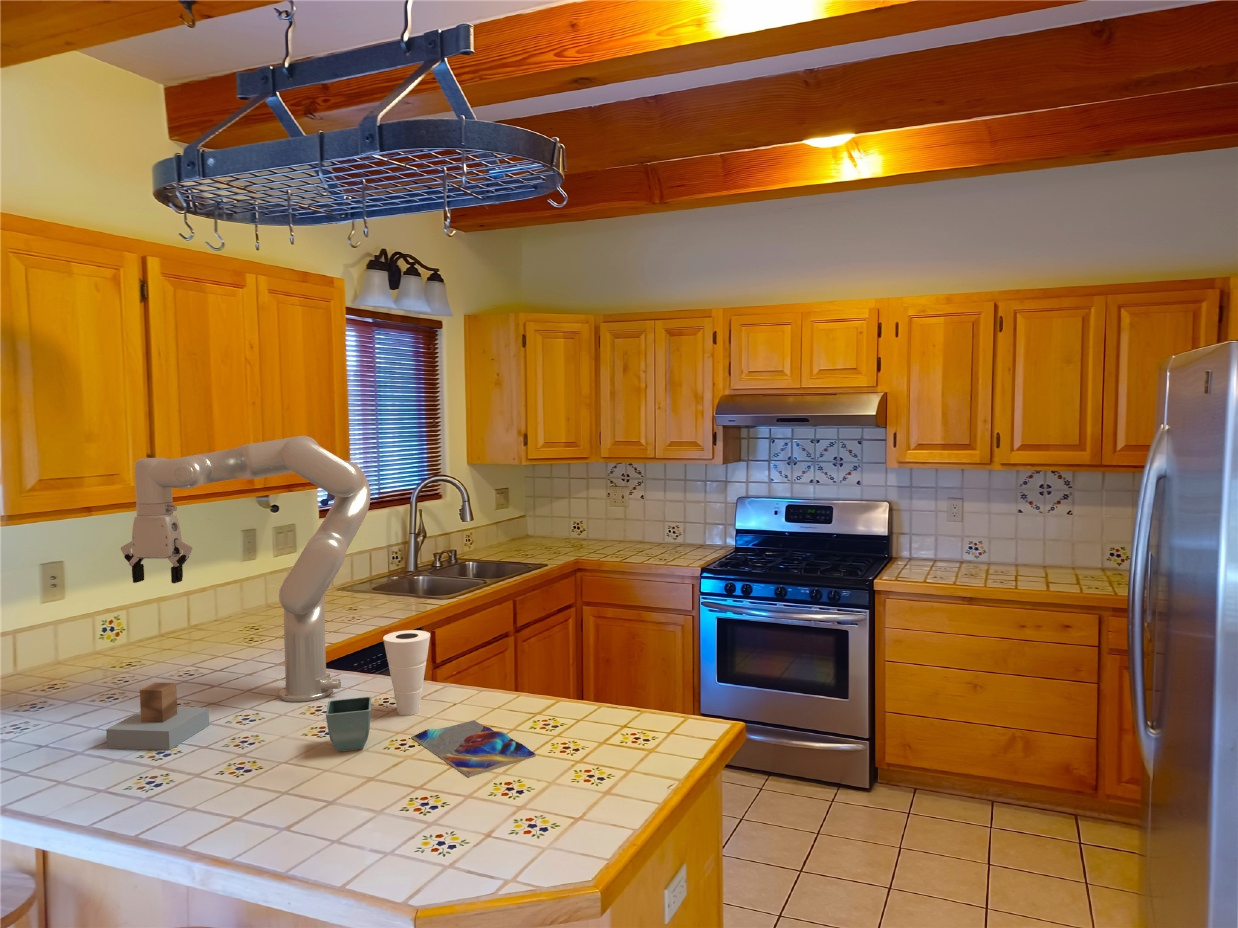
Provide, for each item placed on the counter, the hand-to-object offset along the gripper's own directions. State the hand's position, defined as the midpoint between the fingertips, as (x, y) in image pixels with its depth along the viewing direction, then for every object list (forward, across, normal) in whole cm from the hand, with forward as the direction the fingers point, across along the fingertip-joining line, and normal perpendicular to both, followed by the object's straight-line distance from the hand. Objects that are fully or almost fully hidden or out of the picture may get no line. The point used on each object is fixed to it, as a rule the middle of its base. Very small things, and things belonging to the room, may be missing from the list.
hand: (157, 581), depth 198 cm
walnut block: (+26, -11, +17) cm, 33 cm away
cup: (+31, -60, -2) cm, 67 cm away
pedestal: (+30, -11, +17) cm, 36 cm away
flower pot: (+31, -55, +19) cm, 66 cm away
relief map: (+31, -80, +17) cm, 88 cm away
